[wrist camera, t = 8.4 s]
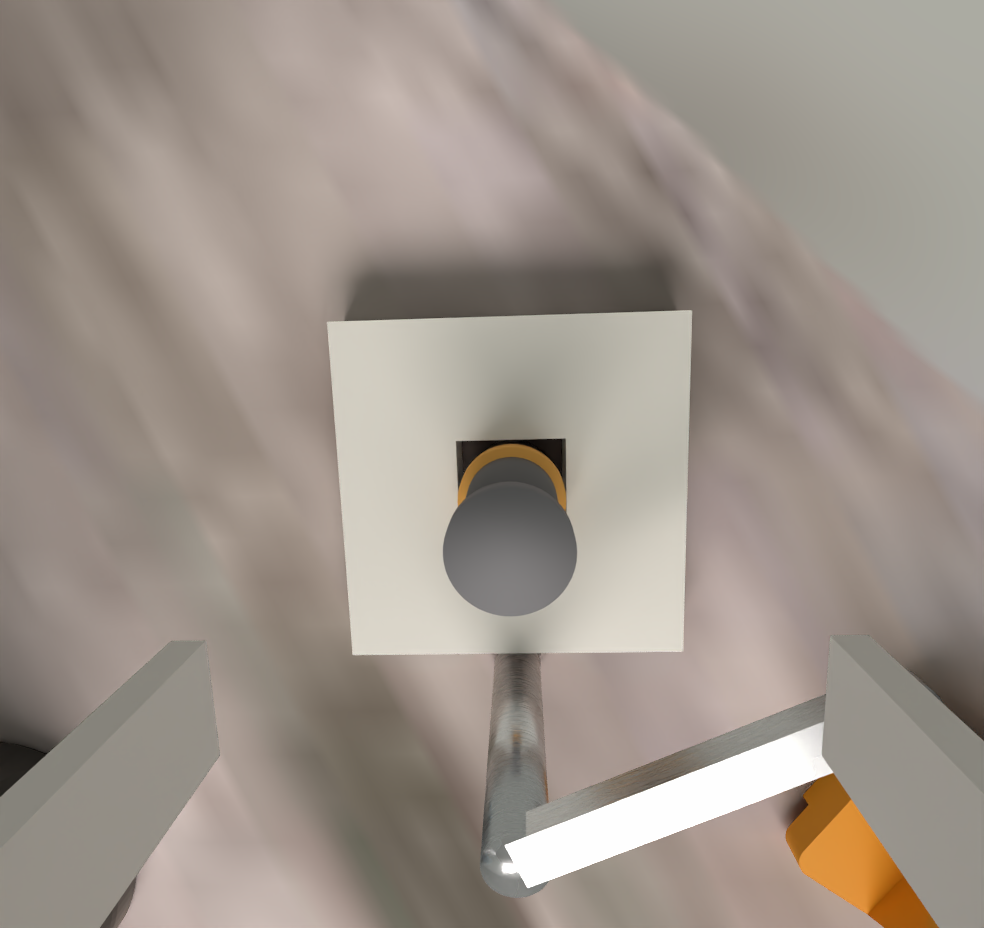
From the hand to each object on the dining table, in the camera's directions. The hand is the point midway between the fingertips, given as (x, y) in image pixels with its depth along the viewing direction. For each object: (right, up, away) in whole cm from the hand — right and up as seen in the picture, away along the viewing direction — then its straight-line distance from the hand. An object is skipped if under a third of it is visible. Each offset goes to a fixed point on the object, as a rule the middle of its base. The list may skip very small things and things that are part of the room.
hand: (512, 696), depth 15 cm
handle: (+7, -3, +21) cm, 23 cm away
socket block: (+1, +4, +20) cm, 21 cm away
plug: (+1, +4, +20) cm, 21 cm away
